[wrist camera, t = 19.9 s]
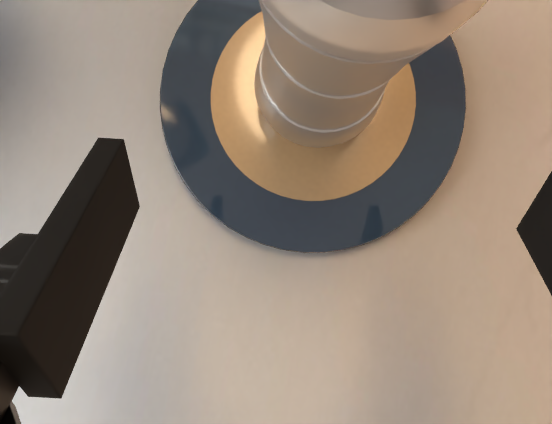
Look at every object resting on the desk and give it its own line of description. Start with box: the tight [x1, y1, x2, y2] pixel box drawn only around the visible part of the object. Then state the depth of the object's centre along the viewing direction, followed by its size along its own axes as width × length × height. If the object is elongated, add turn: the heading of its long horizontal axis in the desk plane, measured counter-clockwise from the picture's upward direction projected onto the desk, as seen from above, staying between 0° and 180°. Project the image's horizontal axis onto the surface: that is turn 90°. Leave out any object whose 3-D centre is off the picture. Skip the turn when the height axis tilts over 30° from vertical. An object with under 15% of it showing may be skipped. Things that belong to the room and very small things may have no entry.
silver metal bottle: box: [254, 0, 488, 148], centre depth 15 cm, size 6×7×20 cm
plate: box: [160, 0, 466, 253], centre depth 25 cm, size 18×18×1 cm
